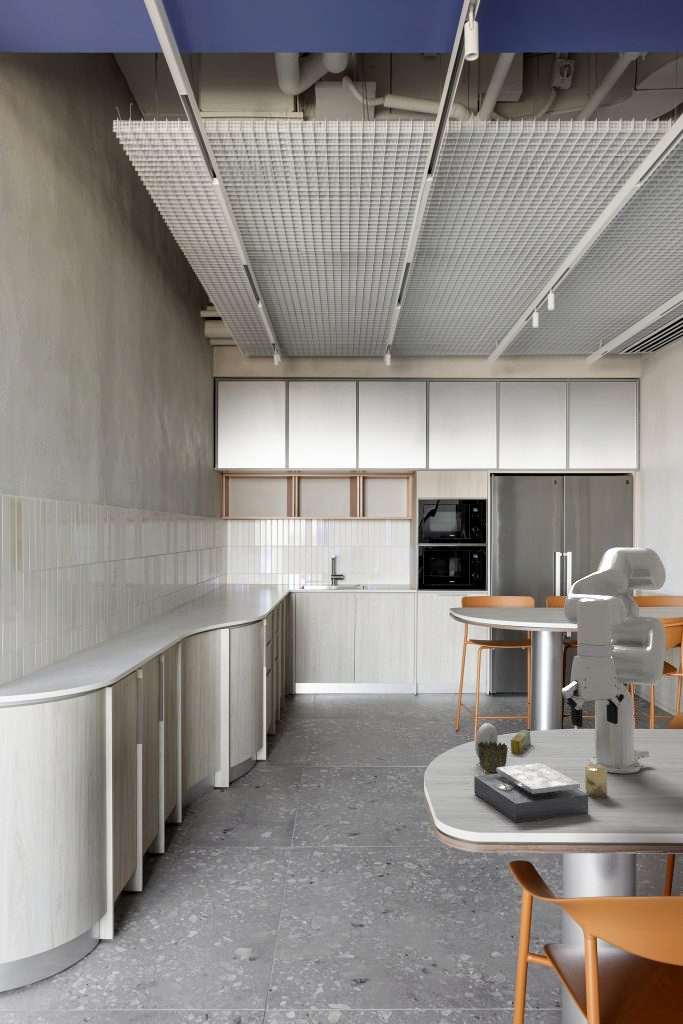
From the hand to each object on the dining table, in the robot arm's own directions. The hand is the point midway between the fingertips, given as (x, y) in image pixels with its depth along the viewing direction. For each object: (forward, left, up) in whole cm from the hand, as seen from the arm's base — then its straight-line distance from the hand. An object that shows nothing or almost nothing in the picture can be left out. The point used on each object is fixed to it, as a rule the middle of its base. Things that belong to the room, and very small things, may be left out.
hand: (594, 724), depth 166 cm
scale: (+18, 0, -16) cm, 24 cm away
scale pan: (+16, 0, -11) cm, 20 cm away
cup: (+17, -18, -16) cm, 30 cm away
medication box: (-3, -37, -17) cm, 41 cm away
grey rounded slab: (+12, -30, -16) cm, 36 cm away
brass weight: (0, 0, -16) cm, 16 cm away
